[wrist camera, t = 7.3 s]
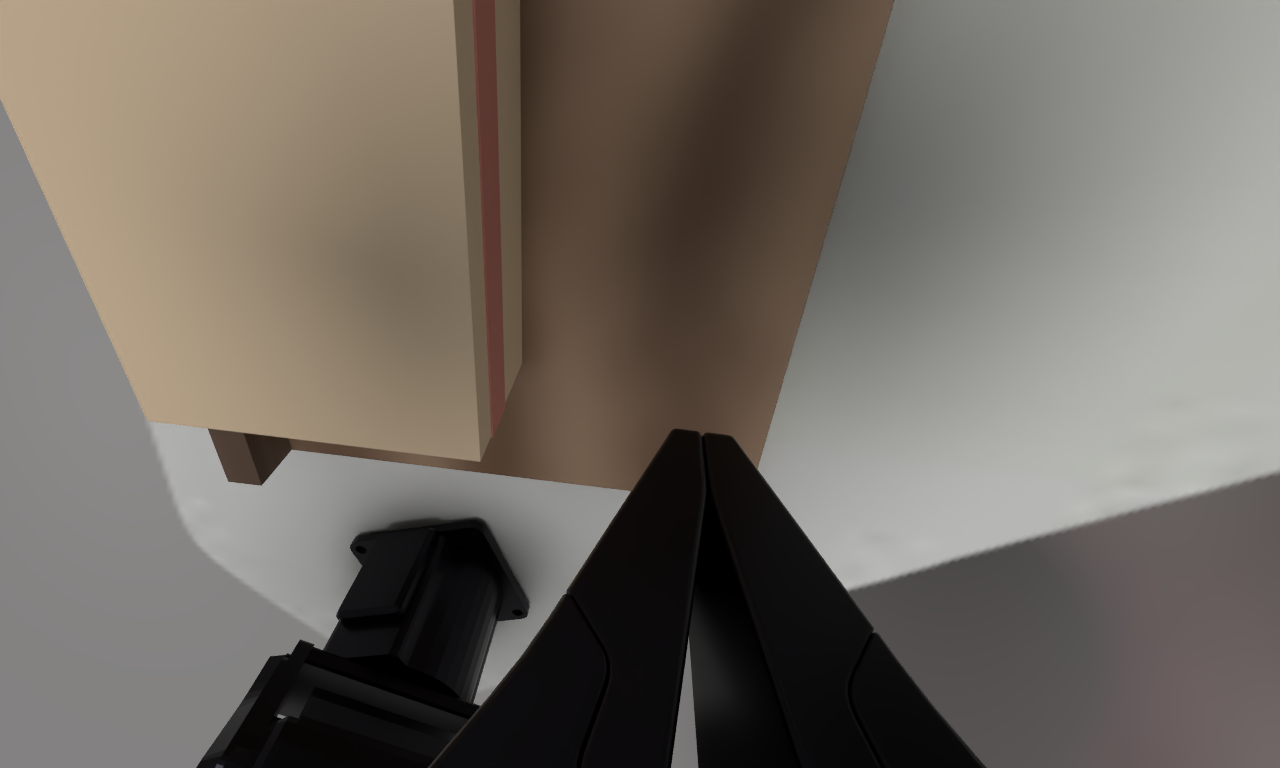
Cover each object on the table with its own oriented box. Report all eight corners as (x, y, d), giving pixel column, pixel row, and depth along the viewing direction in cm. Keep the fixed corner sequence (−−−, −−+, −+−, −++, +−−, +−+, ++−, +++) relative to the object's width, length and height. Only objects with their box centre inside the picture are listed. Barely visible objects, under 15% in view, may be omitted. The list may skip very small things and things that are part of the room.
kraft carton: (521, -85, 14) (449, -112, 9) (523, 364, 20) (482, 463, 16) (118, -138, 13) (-134, -189, 9) (255, 331, 20) (146, 422, 16)
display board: (973, -321, 12) (1049, -400, 9) (744, 486, 24) (751, 545, 22) (5, -451, 12) (-177, -565, 9) (275, 429, 24) (228, 481, 22)
